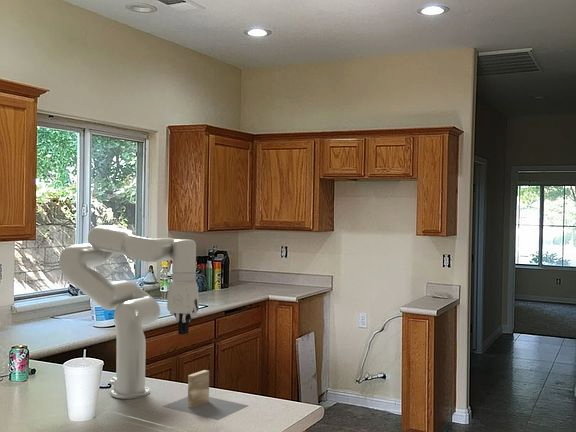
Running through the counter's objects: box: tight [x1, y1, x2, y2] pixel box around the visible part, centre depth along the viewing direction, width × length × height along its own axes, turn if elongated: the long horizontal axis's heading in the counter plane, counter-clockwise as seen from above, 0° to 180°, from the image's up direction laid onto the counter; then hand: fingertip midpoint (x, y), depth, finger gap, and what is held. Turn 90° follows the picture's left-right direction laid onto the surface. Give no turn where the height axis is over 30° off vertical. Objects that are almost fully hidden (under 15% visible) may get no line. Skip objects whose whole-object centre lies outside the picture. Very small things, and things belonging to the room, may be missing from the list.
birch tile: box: [187, 369, 210, 408], centre depth 201 cm, size 2×8×10 cm, turn 149°
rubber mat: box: [162, 396, 249, 421], centre depth 200 cm, size 22×16×1 cm
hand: (183, 333), depth 204 cm, fingers closed
